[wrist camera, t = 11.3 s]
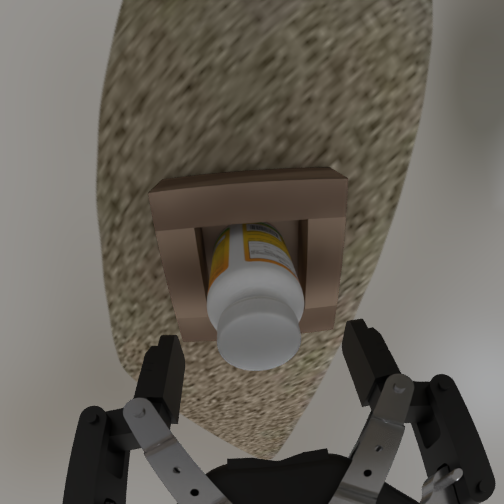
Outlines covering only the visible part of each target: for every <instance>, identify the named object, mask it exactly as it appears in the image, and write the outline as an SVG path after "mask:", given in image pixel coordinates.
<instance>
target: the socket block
mask: <svg viewBox="0 0 504 504" xmlns="http://www.w3.org/2000/svg"><path fill="white" fill-rule="evenodd" d="M347 194H348V178H346V177H345V176H343V175H342V174H340V173H338V172H337V171H335V170H334V169H332V168H330V167H322V168H287V169H267V170H251V171H237V172H225V173H214V174H204V175H194V176H186V177H177V178H169V179H162V180H161V181H160V182H159V183H158V184H157V185H156V186H155V187H154V188H153V189H152V190H151V191H150V192H149V193H148V195H149V201H150V206H151V212H152V217H153V222H154V227H155V232H156V237H157V242H158V246H159V251H160V255H161V260H162V264H163V268H164V273H165V277H166V281H167V285H168V289H169V293H170V296H171V300H172V304H173V308H174V311H175V315H176V319H177V322H178V326H179V329H180V333H181V336H182V339H183V342H196V341H217V330H216V329H215V328H214V326H213V325H212V323H211V321H210V319H209V316H208V313H207V294H208V287H209V280H210V272H211V265H212V257H213V250H214V246H215V242H216V240H217V238H218V236H219V235H220V234H221V232H222V231H223V230H224V229H225V228H227V227H228V226H229V225H232V224H245V223H258V222H266V223H268V224H270V225H272V226H273V227H274V228H275V229H276V230H277V231H278V232H279V233H280V234H281V236H282V237H283V239H284V242H285V244H286V247H287V250H288V252H289V255H290V258H291V261H292V263H293V266H294V269H295V272H296V275H297V277H298V280H299V283H300V285H301V288H302V292H303V296H304V310H303V314H302V317H301V319H300V321H299V328H300V333H310V332H318V331H325V330H332V329H333V328H334V321H335V315H336V308H337V301H338V293H339V286H340V277H341V269H342V259H343V249H344V238H345V226H346V211H347Z"/></svg>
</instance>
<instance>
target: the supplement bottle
mask: <svg viewBox="0 0 504 504" xmlns="http://www.w3.org/2000/svg"><path fill="white" fill-rule="evenodd" d="M303 310H304V296H303V292H302V288H301V285H300V283H299V280H298V277H297V275H296V272H295V269H294V266H293V263H292V261H291V258H290V255H289V252H288V250H287V247H286V244H285V242H284V239H283V237H282V236H281V234H280V233H279V232H278V231H277V230H276V229H275V228H274V227H273V226H272V225H270V224H268V223H266V222H258V223H245V224H232V225H229V226H228V227H227V228H225V229H224V230H223V231H222V232H221V234H220V235H219V236H218V238H217V240H216V242H215V246H214V250H213V257H212V265H211V272H210V280H209V287H208V294H207V313H208V316H209V319H210V321H211V323H212V325H213V326H214V328H215V329H216V330H217V346H218V350H219V353H220V355H221V356H222V357H223V358H224V360H225V361H227V362H228V363H229V364H231V365H233V366H235V367H237V368H240V369H244V370H251V371H261V370H268V369H272V368H275V367H278V366H280V365H282V364H284V363H286V362H287V361H288V360H290V359H291V358H292V357H293V356H294V355H295V354H296V352H297V351H298V349H299V347H300V344H301V333H300V328H299V321H300V319H301V317H302V314H303Z"/></svg>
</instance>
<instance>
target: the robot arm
mask: <svg viewBox="0 0 504 504" xmlns="http://www.w3.org/2000/svg"><path fill="white" fill-rule="evenodd" d="M342 351H343V355H344V358H345V360H346V363H347V366H348V368H349V371H350V374H351V377H352V380H353V382H354V385H355V388H356V391H357V393H358V396H359V399H360V402H361V405H362V407H364V406H368V405H370V408H371V412H370V414H369V416H368V419H367V421H366V423H365V426H364V428H363V430H362V432H361V434H360V436H359V438H358V440H357V442H356V444H355V446H354V448H353V450H352V451H351V453H350V455H349V457H348V458H347V457H344V456H341V455H337V454H329V453H328V450H327V448H326V449H320V450H315V451H309V452H303V453H301V454H298V455H295V456H292V457H289V458H287V459H284V460H281V461H272V460H264V459H257V458H241V459H240V458H238V459H227V464H226V465H222V466H219V467H217V468H215V469H213V470H211V471H210V472H208V473H207V474H204V472H203V471H202V470H201V469H200V468H199V467H198V465H197V464H196V463H195V462H194V461H193V460H192V458H191V457H190V456H189V454H188V453H187V452H186V451H185V449H184V448H183V447H182V445H181V444H180V443H179V442H178V440H177V439H176V438H175V437H174V435H173V434H172V433H171V431H170V426H171V424H178V419H179V410H180V402H181V394H182V386H183V379H184V371H185V358H184V354H183V351H182V348H181V345H180V342H179V339H178V336H177V335H161V337H160V340H159V344H158V346H151V347H150V349H149V350H148V351H147V352H146V354H145V357H144V361H143V364H142V368H141V372H140V375H139V379H138V383H137V387H136V391H135V395H134V398H133V399H132V400H130V401H129V402H127V403H126V405H125V406H124V408H121V409H117V410H112V411H107V412H105V411H104V410H103V409H102V408H100V407H98V406H90V407H88V408H86V409H84V411H83V412H82V413H81V415H80V418H79V422H78V426H77V430H76V434H75V438H74V442H73V447H72V452H71V456H70V461H69V467H68V473H67V477H66V483H65V490H64V497H63V504H126V490H127V477H128V466H129V457H130V450H132V449H138V448H142V449H143V451H144V455H145V457H146V459H147V460H148V462H149V463H150V465H151V467H152V468H153V470H154V471H155V472H156V474H157V475H158V477H159V478H160V480H161V481H162V482H163V484H164V485H165V487H166V488H167V489H168V491H169V492H170V493H171V495H172V496H173V497H174V499H175V500H176V501H177V502H178V503H177V504H479V503H481V502H483V501H485V500H487V499H488V498H489V497H490V496H491V495H492V493H493V491H494V489H495V478H494V475H493V472H492V469H491V466H490V463H489V460H488V458H487V455H486V452H485V450H484V447H483V444H482V442H481V439H480V437H479V434H478V432H477V430H476V427H475V425H474V423H473V421H472V418H471V416H470V414H469V412H468V409H467V407H466V405H465V403H464V400H463V398H462V397H461V394H460V392H459V390H458V388H457V386H456V384H455V382H454V381H453V379H452V378H451V377H449V376H447V375H444V374H439V375H436V376H434V377H433V378H432V380H431V381H430V382H415V381H412V380H411V379H410V378H409V377H408V376H406V375H404V374H401V372H400V371H399V368H398V367H397V364H396V362H395V360H394V358H393V356H392V355H391V353H390V351H389V350H388V347H387V345H386V343H385V341H384V339H383V338H382V336H381V334H380V333H379V332H378V331H377V330H375V329H374V328H368V327H367V325H366V323H365V322H364V320H363V319H357V320H350V321H347V323H346V327H345V332H344V336H343V341H342ZM404 423H411V425H412V428H413V430H414V433H415V437H416V440H417V443H418V446H419V449H420V452H421V456H422V459H423V462H424V466H425V469H426V473H427V476H428V478H427V479H426V481H425V482H424V484H423V486H422V499H421V501H420V503H418V502H417V501H416V500H414V499H412V498H411V497H409V496H407V495H405V494H404V493H402V492H400V491H399V490H397V489H396V488H394V487H392V486H391V485H389V484H387V483H386V482H385V479H386V477H387V475H388V472H389V470H390V468H391V465H392V463H393V460H394V458H395V455H396V453H397V450H398V448H399V445H400V442H401V439H402V436H403V434H404V430H405V426H404Z"/></svg>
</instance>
